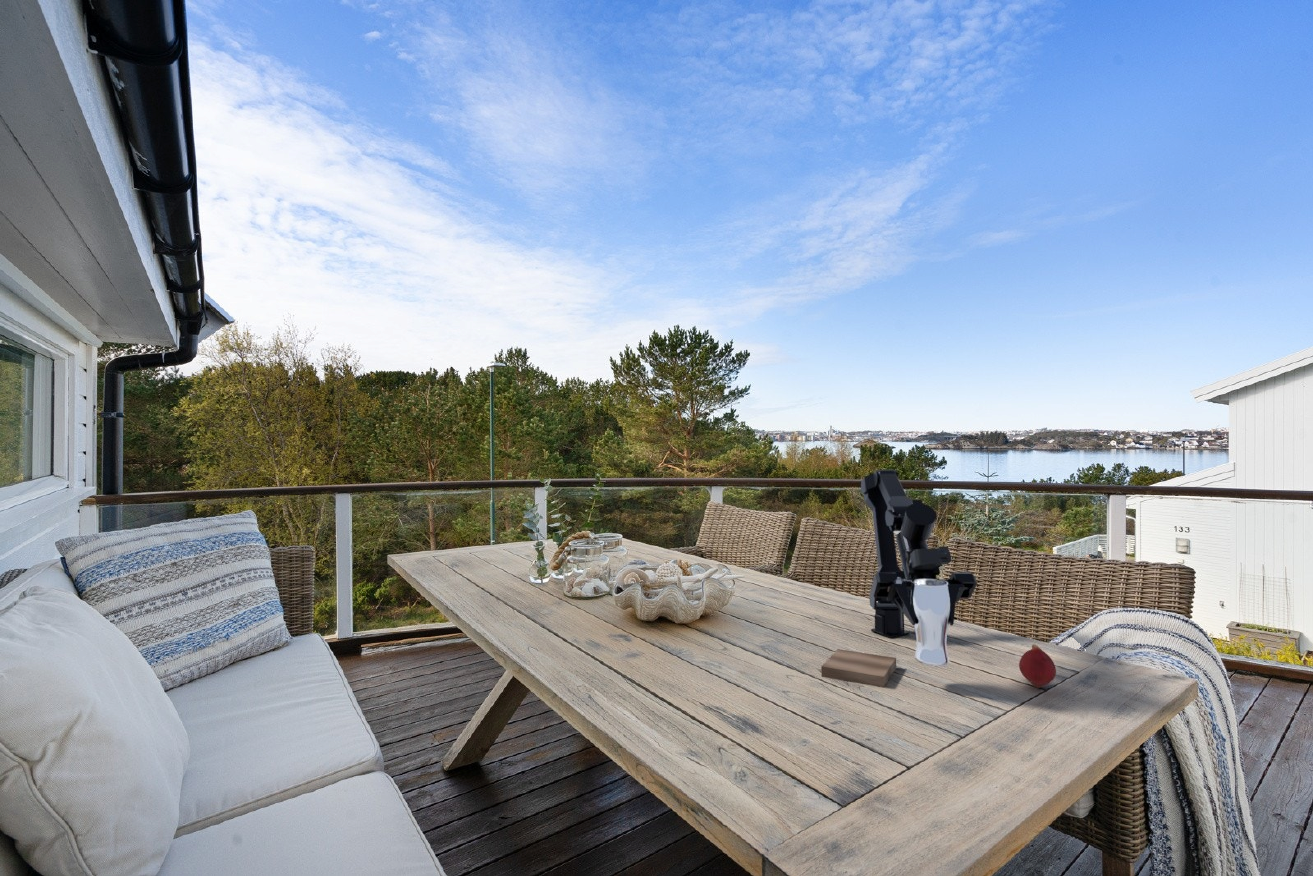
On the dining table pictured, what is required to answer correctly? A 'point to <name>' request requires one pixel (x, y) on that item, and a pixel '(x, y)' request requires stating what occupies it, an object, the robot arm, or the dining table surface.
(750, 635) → the dining table surface
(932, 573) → the robot arm
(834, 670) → the walnut board
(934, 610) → the beer glass
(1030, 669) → the onion
